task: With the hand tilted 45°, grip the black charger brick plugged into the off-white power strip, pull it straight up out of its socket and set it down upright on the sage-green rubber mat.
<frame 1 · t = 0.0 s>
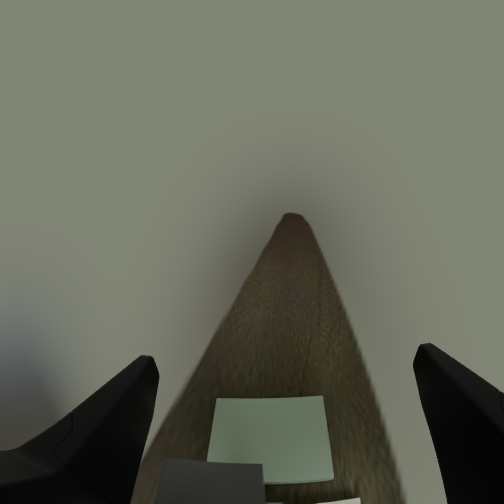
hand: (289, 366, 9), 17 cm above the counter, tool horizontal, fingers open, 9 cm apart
rubber mat: (269, 440, 22), on the counter
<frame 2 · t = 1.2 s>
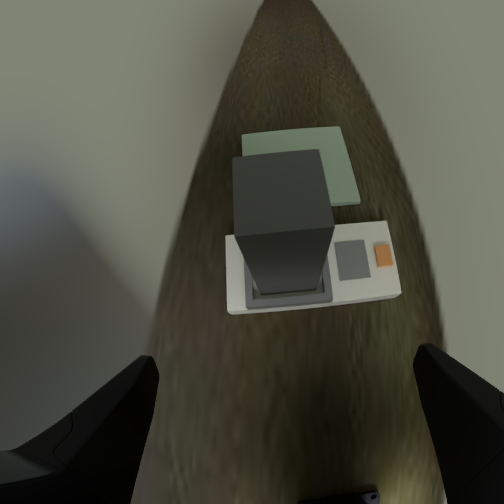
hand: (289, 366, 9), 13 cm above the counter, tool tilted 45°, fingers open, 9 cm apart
power strip: (312, 270, 23), on the counter
rubber mat: (297, 166, 27), on the counter
charger brick: (286, 266, 22), point 1 cm above the counter, touching power strip
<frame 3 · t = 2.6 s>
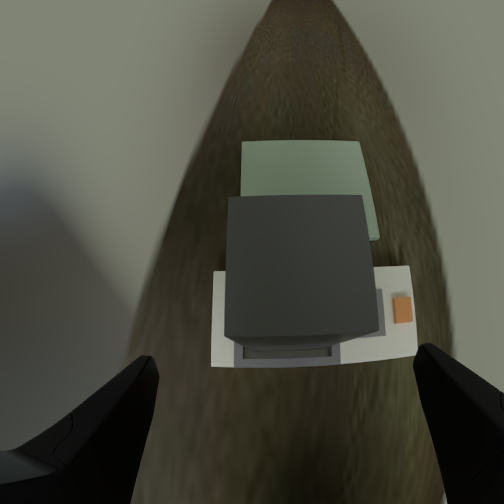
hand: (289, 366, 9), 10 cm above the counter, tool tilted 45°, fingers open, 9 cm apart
power strip: (315, 319, 19), on the counter
rubber mat: (306, 187, 23), on the counter
charger brick: (286, 317, 18), point 1 cm above the counter, touching power strip
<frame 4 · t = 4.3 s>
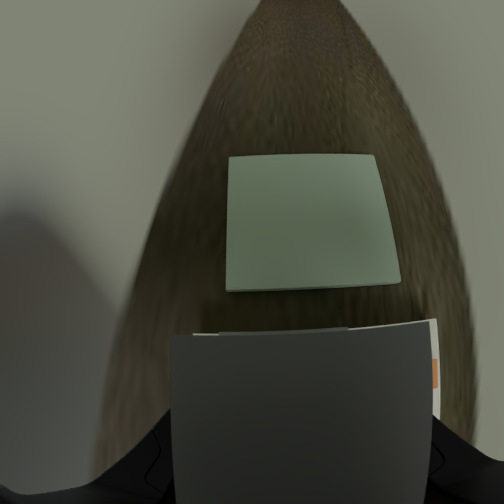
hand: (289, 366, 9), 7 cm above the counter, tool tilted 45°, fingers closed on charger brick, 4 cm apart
power strip: (321, 387, 14), on the counter
rubber mat: (310, 216, 18), on the counter
charger brick: (284, 392, 13), point 1 cm above the counter, touching gripper, power strip
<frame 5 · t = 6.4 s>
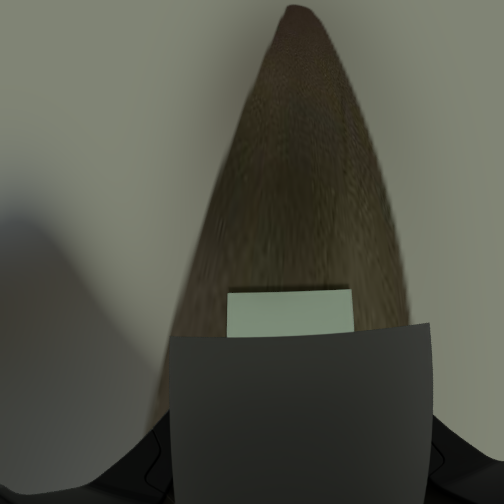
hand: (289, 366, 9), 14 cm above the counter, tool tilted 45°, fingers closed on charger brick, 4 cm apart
rubber mat: (291, 348, 23), on the counter
charger brick: (284, 393, 13), point 9 cm above the counter, touching gripper
when the fingers open (7 cm above the counter, at t = 8.5 s): charger brick drops 1 cm, resting on rubber mat.
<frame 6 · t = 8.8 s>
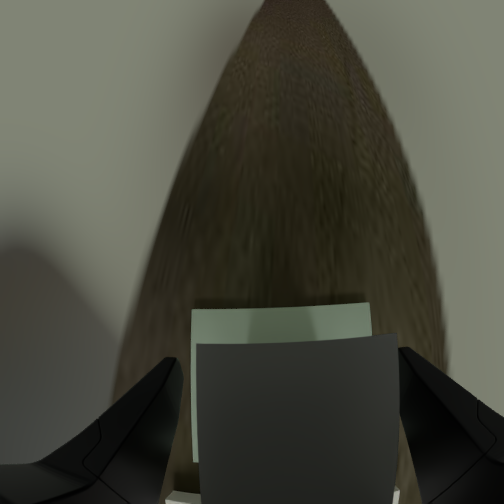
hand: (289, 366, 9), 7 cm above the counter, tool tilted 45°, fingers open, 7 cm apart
rubber mat: (283, 388, 15), on the counter
charger brick: (284, 390, 15), resting on rubber mat
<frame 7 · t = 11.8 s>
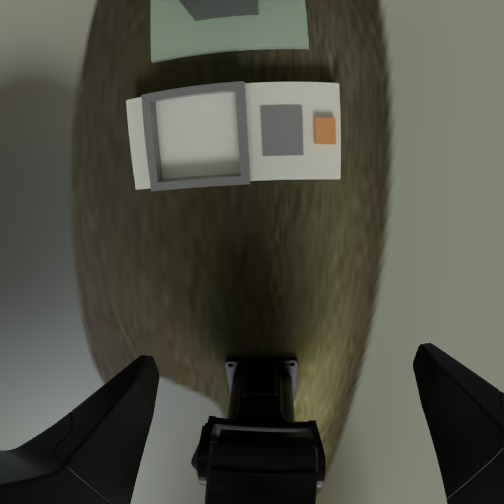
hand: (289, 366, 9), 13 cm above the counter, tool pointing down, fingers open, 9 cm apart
power strip: (233, 132, 18), on the counter
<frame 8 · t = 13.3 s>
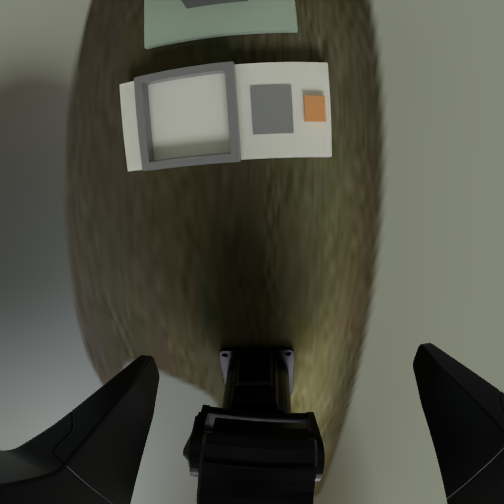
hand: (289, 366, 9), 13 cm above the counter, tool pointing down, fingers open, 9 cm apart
power strip: (224, 113, 18), on the counter
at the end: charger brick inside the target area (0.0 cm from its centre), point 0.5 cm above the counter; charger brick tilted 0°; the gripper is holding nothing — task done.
